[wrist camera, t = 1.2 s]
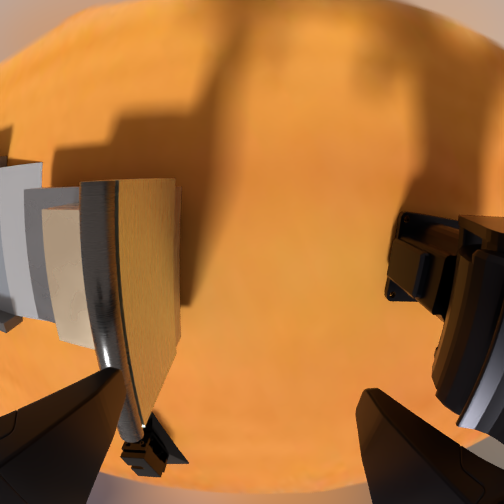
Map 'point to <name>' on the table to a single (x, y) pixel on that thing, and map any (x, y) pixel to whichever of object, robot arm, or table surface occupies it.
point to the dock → (15, 244)
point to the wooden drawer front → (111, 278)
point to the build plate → (152, 451)
